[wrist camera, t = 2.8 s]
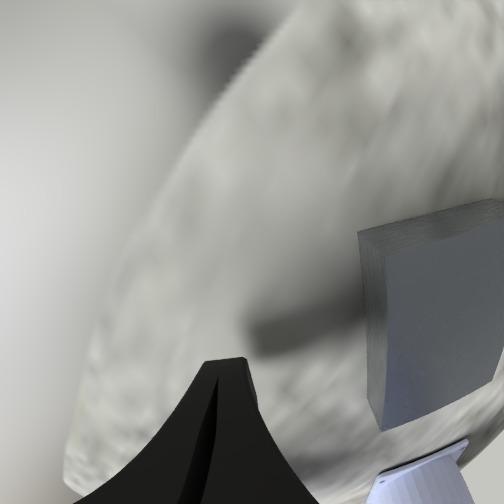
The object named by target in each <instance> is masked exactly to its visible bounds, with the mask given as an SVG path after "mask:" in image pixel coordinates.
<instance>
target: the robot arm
mask: <svg viewBox="0 0 504 504" xmlns="http://www.w3.org/2000/svg"><path fill="white" fill-rule="evenodd" d="M468 443H469V441H468V439H464V440H462V441H460V442H458V443H456V444H454V445H452V446H450V447H448V448H446V449H444V450H441V451H439V452H437V453H435V454H432V455H430V456H428V457H425V458H423V459H420V460H418V461H415V462H413V463H410V464H407V465H405V466H402V467H399V468H396V469H393V470H390V471H387V472H384V473H382V474H380V475H378V476H377V477H376V480H375V482H374V485H373V487H372V489H371V492H370V494H369V497H368V499H367V501H366V503H365V504H475V503H474V501H473V499H472V497H471V494H470V492H469V490H468V487H467V485H466V483H465V481H464V479H463V476H462V474H461V472H460V470H459V468H458V466H457V464H456V461H457V459H458V458H459V457H460V455H461V454H462V452H463V451H464V449H465V448H466V447H467V445H468ZM73 504H319V503H318V502H317V501H316V499H315V498H314V497H313V496H312V495H311V494H310V492H309V491H308V490H307V488H306V487H305V486H304V485H303V483H302V482H301V481H300V479H299V478H298V477H297V475H296V474H295V473H294V471H293V470H292V469H291V467H290V466H289V464H288V463H287V461H286V460H285V458H284V457H283V455H282V453H281V452H280V450H279V449H278V447H277V445H276V444H275V442H274V440H273V438H272V436H271V435H270V433H269V431H268V429H267V427H266V425H265V423H264V421H263V419H262V416H261V414H260V412H259V410H258V403H257V395H256V392H255V388H254V384H253V381H252V377H251V373H250V370H249V366H248V362H247V359H246V358H244V357H237V358H229V359H221V360H212V361H205V362H204V363H203V364H202V366H201V368H200V370H199V371H198V373H197V375H196V376H195V378H194V380H193V381H192V383H191V385H190V386H189V388H188V390H187V391H186V393H185V394H184V396H183V397H182V399H181V400H180V402H179V404H178V405H177V407H176V408H175V410H174V411H173V412H172V414H171V415H170V417H169V418H168V419H167V421H166V422H165V423H164V424H163V426H162V427H161V428H160V430H159V431H158V432H157V434H156V435H155V436H154V437H153V438H152V440H151V441H150V442H149V443H148V444H147V445H146V446H145V447H144V448H143V450H142V451H141V452H140V453H139V454H138V455H137V456H136V457H135V458H134V459H133V460H132V461H131V462H129V463H128V464H127V465H126V466H125V467H124V468H123V469H122V470H121V471H120V472H118V473H117V474H116V475H115V476H114V477H112V478H111V479H110V480H108V481H107V482H106V483H104V484H103V485H102V486H100V487H99V488H97V489H96V490H95V491H93V492H92V493H90V494H89V495H87V496H85V497H84V498H82V499H81V500H79V501H77V502H75V503H73Z"/></svg>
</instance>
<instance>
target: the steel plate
mask: <svg viewBox="0 0 504 504" xmlns="http://www.w3.org/2000/svg"><path fill="white" fill-rule="evenodd" d="M357 234H358V241H359V250H360V258H361V267H362V278H363V289H364V301H365V317H366V337H367V399H368V401H369V404H370V406H371V409H372V411H373V414H374V416H375V419H376V421H377V424H378V426H379V429H380V432H383V431H386V430H389V429H392V428H395V427H397V426H400V425H403V424H405V423H408V422H410V421H413V420H415V419H417V418H420V417H422V416H425V415H427V414H429V413H431V412H434V411H436V410H438V409H440V408H442V407H444V406H446V405H448V404H450V403H452V402H454V401H456V400H458V399H460V398H462V397H464V396H466V395H468V394H470V393H472V392H473V391H475V390H477V389H479V388H480V387H482V386H484V385H486V384H487V383H489V382H491V381H492V379H493V376H494V374H495V371H496V368H497V365H498V363H499V360H500V357H501V354H502V351H503V347H504V204H503V203H501V202H498V201H495V200H492V199H487V200H483V201H479V202H475V203H471V204H467V205H463V206H459V207H455V208H451V209H447V210H443V211H439V212H435V213H431V214H427V215H423V216H419V217H415V218H411V219H407V220H403V221H399V222H395V223H391V224H387V225H383V226H379V227H375V228H371V229H367V230H363V231H359V232H357Z"/></svg>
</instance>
